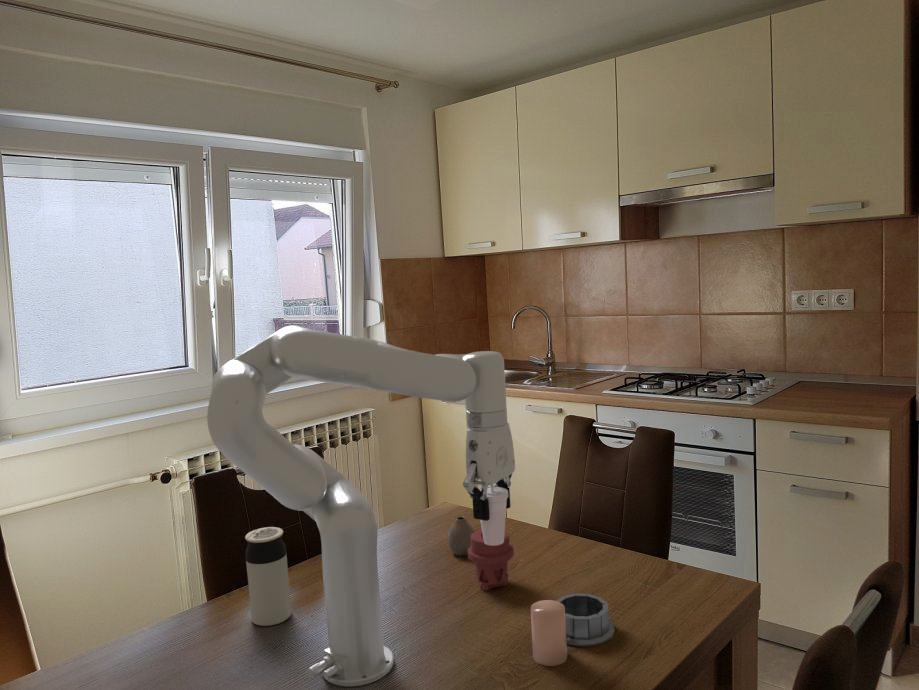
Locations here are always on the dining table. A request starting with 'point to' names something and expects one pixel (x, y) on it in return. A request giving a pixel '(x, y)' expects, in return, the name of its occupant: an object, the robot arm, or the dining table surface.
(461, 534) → the vase
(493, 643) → the dining table surface
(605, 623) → the ring socket
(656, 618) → the dining table surface
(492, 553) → the mechanical component
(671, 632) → the dining table surface
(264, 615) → the travel mug
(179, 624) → the dining table surface
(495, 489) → the smoothie
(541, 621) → the peach rounded cylinder
